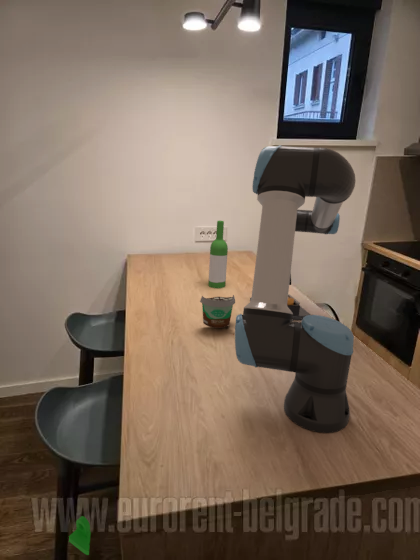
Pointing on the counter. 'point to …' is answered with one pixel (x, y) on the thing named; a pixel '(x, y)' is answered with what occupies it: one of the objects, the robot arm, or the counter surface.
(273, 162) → the robot arm
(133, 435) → the counter surface
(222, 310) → the food container
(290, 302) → the button
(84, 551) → the mechanical part
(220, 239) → the wine bottle
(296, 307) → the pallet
